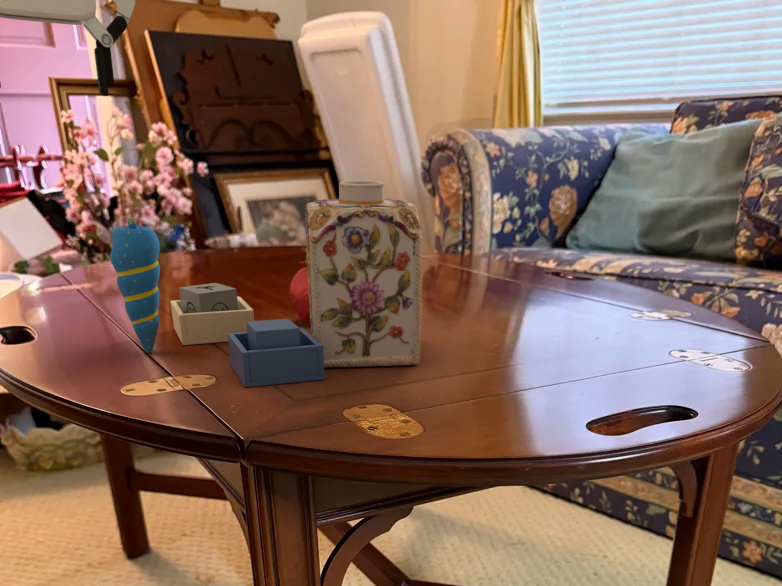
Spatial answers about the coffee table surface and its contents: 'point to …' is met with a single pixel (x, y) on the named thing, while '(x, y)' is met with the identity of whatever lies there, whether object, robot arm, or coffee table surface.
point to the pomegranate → (301, 294)
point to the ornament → (138, 277)
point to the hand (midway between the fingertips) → (51, 91)
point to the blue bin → (276, 361)
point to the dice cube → (208, 298)
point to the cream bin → (210, 323)
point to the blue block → (272, 334)
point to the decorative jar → (364, 277)
